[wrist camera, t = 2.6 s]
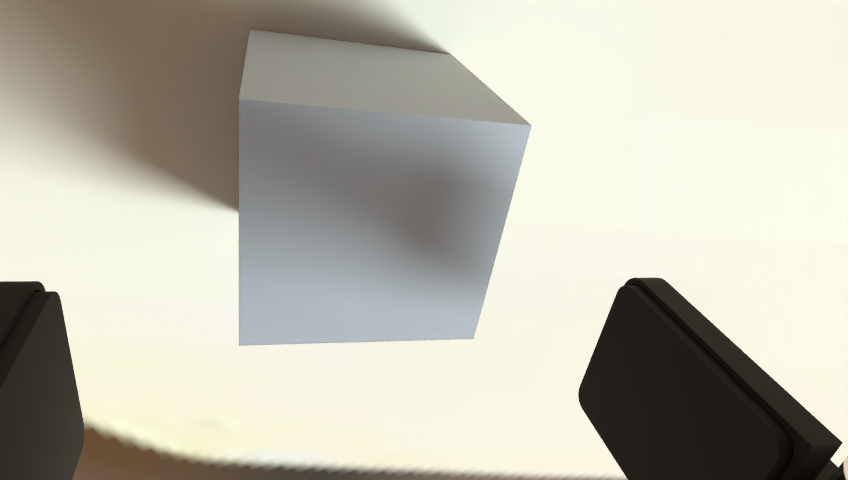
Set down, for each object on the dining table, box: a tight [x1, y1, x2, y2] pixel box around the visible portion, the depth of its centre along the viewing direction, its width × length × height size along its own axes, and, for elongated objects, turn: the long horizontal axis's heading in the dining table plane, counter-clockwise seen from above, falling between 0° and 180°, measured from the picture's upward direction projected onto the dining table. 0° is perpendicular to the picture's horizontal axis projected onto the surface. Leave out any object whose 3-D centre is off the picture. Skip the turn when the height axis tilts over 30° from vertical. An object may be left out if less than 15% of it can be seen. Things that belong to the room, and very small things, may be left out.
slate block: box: [239, 29, 531, 346], centre depth 14 cm, size 6×6×6 cm
